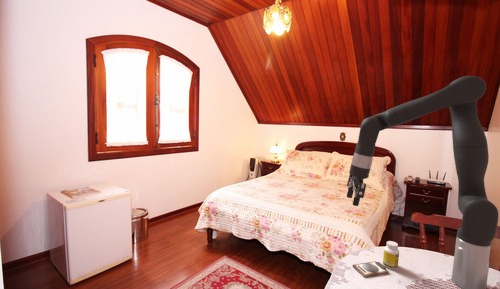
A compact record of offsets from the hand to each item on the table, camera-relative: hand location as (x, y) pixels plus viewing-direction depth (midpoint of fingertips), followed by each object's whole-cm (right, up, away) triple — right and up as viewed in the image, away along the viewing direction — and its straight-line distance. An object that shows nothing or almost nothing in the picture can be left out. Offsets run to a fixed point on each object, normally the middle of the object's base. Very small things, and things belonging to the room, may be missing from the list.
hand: (351, 201), depth 107 cm
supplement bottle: (+14, -26, -4) cm, 30 cm away
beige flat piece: (+4, -26, -7) cm, 27 cm away
